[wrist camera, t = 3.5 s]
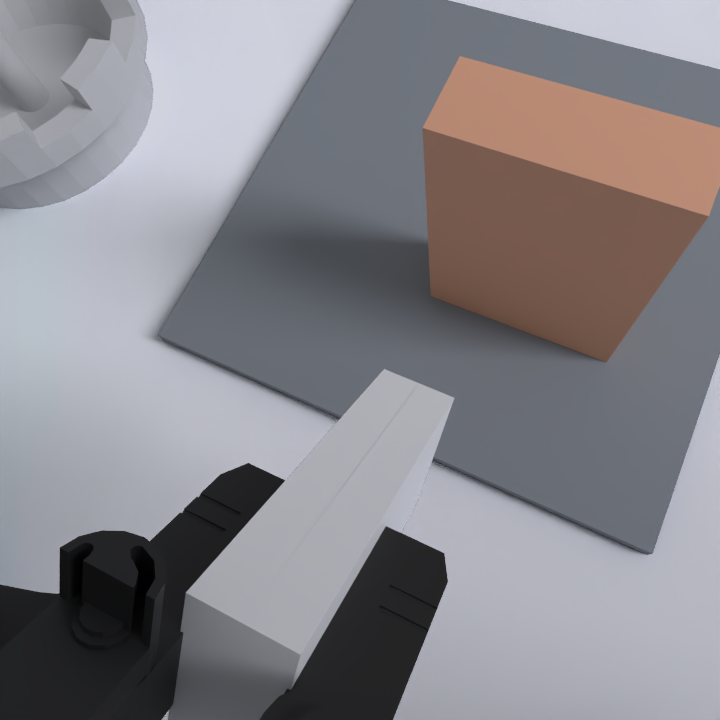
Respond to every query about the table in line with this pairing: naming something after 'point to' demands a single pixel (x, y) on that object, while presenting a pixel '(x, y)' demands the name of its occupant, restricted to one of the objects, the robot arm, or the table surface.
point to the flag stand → (68, 95)
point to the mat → (412, 276)
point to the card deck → (559, 203)
